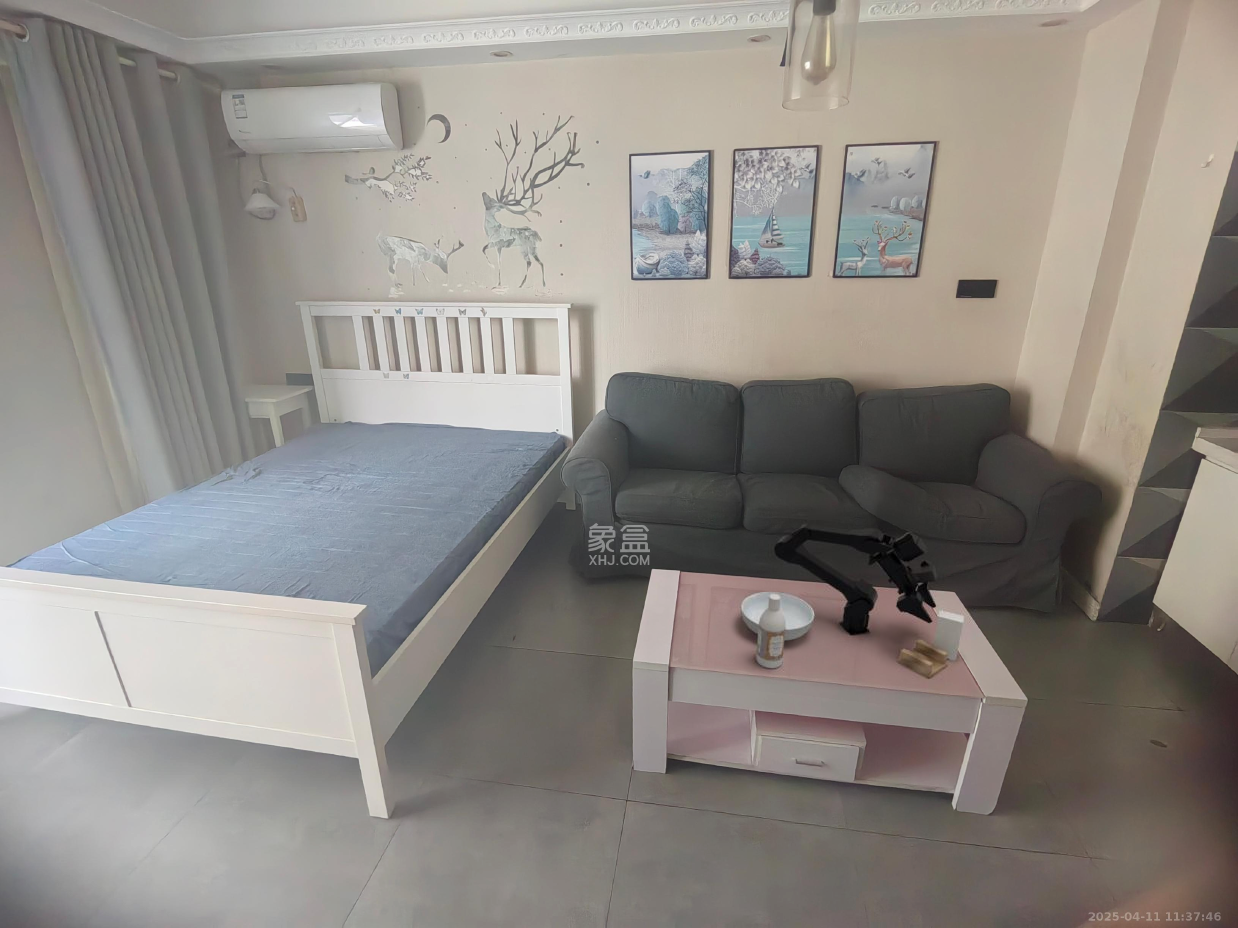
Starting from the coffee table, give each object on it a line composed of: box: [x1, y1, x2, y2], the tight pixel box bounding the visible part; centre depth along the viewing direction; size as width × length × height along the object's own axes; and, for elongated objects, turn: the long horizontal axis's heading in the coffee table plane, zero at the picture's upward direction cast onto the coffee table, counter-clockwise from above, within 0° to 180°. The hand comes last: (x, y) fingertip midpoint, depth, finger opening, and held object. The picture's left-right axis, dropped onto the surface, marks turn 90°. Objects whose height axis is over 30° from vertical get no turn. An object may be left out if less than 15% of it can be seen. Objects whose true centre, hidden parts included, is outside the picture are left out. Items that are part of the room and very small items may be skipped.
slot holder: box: [896, 639, 949, 679], centre depth 166 cm, size 9×9×4 cm
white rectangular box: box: [932, 609, 965, 662], centre depth 169 cm, size 6×4×12 cm, turn 58°
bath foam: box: [755, 594, 786, 669], centre depth 164 cm, size 7×7×20 cm
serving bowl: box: [740, 591, 815, 641], centre depth 181 cm, size 21×21×7 cm
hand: (932, 614), depth 169 cm, fingers open, 9 cm apart
